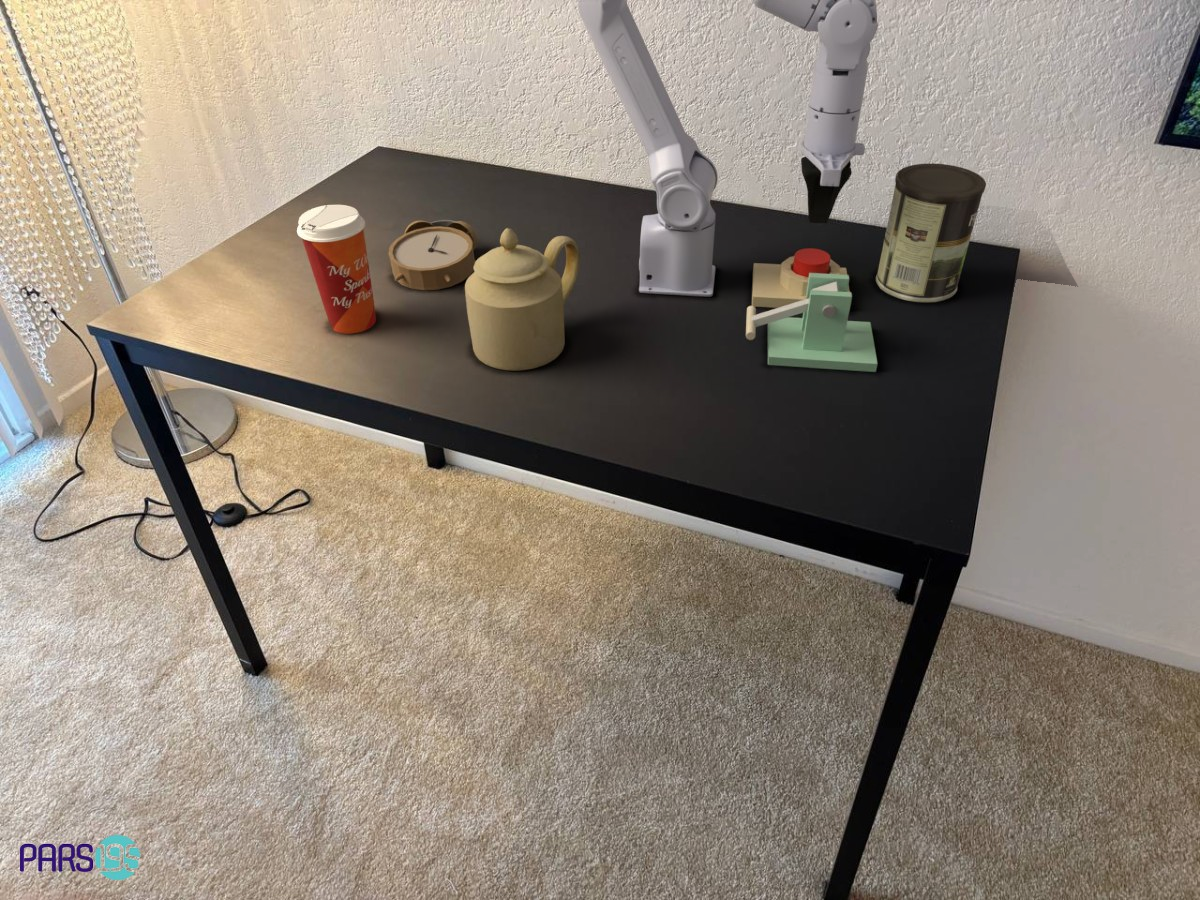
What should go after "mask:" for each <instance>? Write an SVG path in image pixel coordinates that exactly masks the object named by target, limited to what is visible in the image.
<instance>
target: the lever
mask: <svg viewBox="0 0 1200 900" xmlns="http://www.w3.org/2000/svg"><path fill="white" fill-rule="evenodd" d="M812 290H819V291H837V292H840V290H839V287H838V284H837V282H833V283H830V284H827V285H823V286H820V287H817V288H814V289H812ZM808 303H809V298H808V299H805V300H802V301H798V302H795V303H792V304H789V305H786V306H782V307H779V308H772V309H770V310H767V311H763V312H760V313H757V308H756V306H752V305H749V306H747V308H746V320H745V339H747V340H749V341H753V340H754V339H756V331H757V330H756V329H757V328H758V327H760V326H761V327H762V326H764V325H768V323H771V322H774V321H777V320H781V319H784V318H787V317H793V316H798V315H800V314H803V312H807V310H808Z"/></svg>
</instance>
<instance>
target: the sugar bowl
mask: <svg viewBox="0 0 1200 900" xmlns="http://www.w3.org/2000/svg"><path fill="white" fill-rule="evenodd" d="M518 243H519V238H518V236H517V233H515V232H514V231H513V229H512V228H508V227H506V228H505V229H504V230H503V231H502V233H501V234H500V239H499V244H500V246H497V247H495V248H492V249H490V250H489V251H487V252H486V253H485V254H482V255H481V256H480V257H478V258H477V260H475V265H474V267H473V268H474V270H473V272H472V273H471V275H470V276H469V277H467V278H466V281H465V283H464V293H465V302H466V303H465V304H466V313H467V320H468V325H469V332H470V338H471V344H472V350H473V353H474V356H475V357H476V359H478V360H479V361H480V362H481V363H483V364H485V365H486V366H488V367H491V368H493V369H497V370H503V371H512V372H516V371H517V372H519V371H526V370H533V369H536V368H540V367H543V366H545V365H547V364H549V363H551V362H552V361H555V360H556V358H558V357H559V356H560V354H562V352H563V350H564V347H565V309H564V308H565V307H564V304H565V303H566V302H567V300H568V299H569V297H570V295H571V292H572V290H573V289H574V287H575V284H576V281H577V279H578V274H579V272H580V271H579V270H580V263H581V260H580V259H581V258H580V256H581V255H580V250H579V247H578V245H577V243H576V241H575V240H574V239H572V238H571V237H569V236H565V235H558V236H555V237H553V238H552V239H551V240H550V241H549V242H548V244H547V246H546V248H545V251H544V252H543V253H544V254H542V253H541V251H539V250H537V249H533V248H532V247H529V246H527V245H521V244H518ZM564 248H565V254H566V257H565V258H566V259H565V267H564V271H563V274H562V277H561V276H560V274H559V273H558V272H557V271H556V265H557V261H558V258H559V255H560V253H561V251H562V249H564Z"/></svg>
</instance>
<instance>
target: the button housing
mask: <svg viewBox="0 0 1200 900" xmlns="http://www.w3.org/2000/svg"><path fill="white" fill-rule="evenodd" d="M794 257H795V255H793V256H789V257H788V258H786V259H785V260H783V261H782V262H781V263H779V264H778V263H758V262H754V263H753V267H752V281H751V282H752V285H751V306H754V307H755V308H756V307H757V308H772V309H776V308H779V307H782V306H786V305H789V304H792V303H795V302H798V301H802V300H805V298H806V291H807V285H808V278H809V277H804V276H801V275H798V274H796V273H794V272H793V264H794ZM828 274H840V275H848V271H847V267H841V266H840V265H839V264H838V263H837V262H835V261H834V260H833V259H832V258H830V264H829V270H828ZM849 284H850V283H849ZM849 284H848V289H847V292H851V291H850V285H849ZM851 305H852V304H851ZM851 305H850V307H851ZM850 311H851V309H850V310H849V312H850Z"/></svg>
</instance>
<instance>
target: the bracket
mask: <svg viewBox="0 0 1200 900" xmlns="http://www.w3.org/2000/svg"><path fill="white" fill-rule="evenodd" d="M833 282H837V284H838V287H839V290H840V292H837V291H819V290H812V289H814V288H817V287H820V286H823V285H827V284H830V283H833ZM848 284H850V274H847V275H840V274H821V273H809V278H808V285H807V291H806V298H805V299H808V298H809V303H808V310H807V312H803V313H802V317H793V316H790V317H787V318H784V319H781V320H777V321H774V322H771V323H768V324H767V366H780V367H782V366H783V367H797V368H809V369H824V370H838V371H839V370H840V371H854V372H855V371H857V372H868V373H869V372H871V373H876V372H877V368H878V358H877V352H876V347H875V340H874V335H873V329H872V323H871V322H870V321H860V320H859V321H857V320H856V321H855V320H849V314H850V311H851V306H850V305H852V299H853V293H852V292H851V291H850V292H847V289H848ZM849 310H850V311H849Z"/></svg>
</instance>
